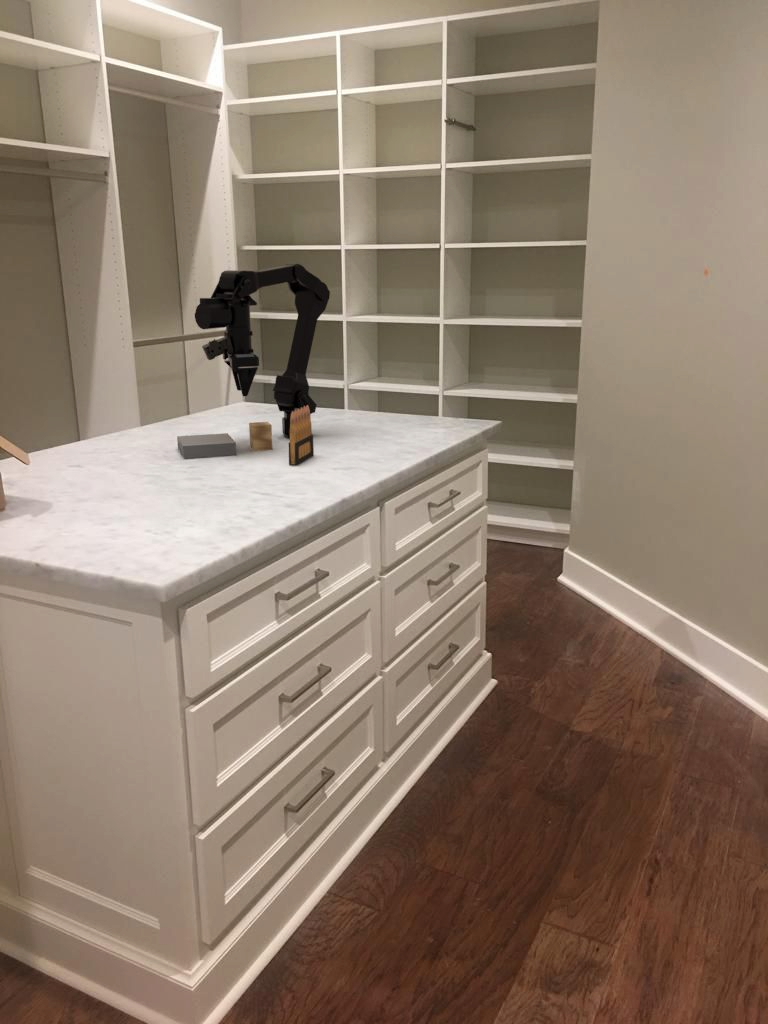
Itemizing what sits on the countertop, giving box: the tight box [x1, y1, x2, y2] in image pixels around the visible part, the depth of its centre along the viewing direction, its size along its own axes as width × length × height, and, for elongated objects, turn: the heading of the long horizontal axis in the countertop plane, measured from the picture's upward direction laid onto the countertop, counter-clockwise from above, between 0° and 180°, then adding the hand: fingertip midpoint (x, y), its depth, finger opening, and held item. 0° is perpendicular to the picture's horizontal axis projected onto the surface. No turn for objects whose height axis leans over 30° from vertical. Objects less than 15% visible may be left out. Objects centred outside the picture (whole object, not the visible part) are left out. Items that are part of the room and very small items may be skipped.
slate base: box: [176, 432, 237, 460], centre depth 199 cm, size 12×12×3 cm
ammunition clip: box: [288, 405, 315, 467], centre depth 189 cm, size 11×2×12 cm, turn 164°
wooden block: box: [248, 421, 273, 452], centre depth 203 cm, size 4×4×6 cm
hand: (242, 393), depth 201 cm, fingers open, 9 cm apart
